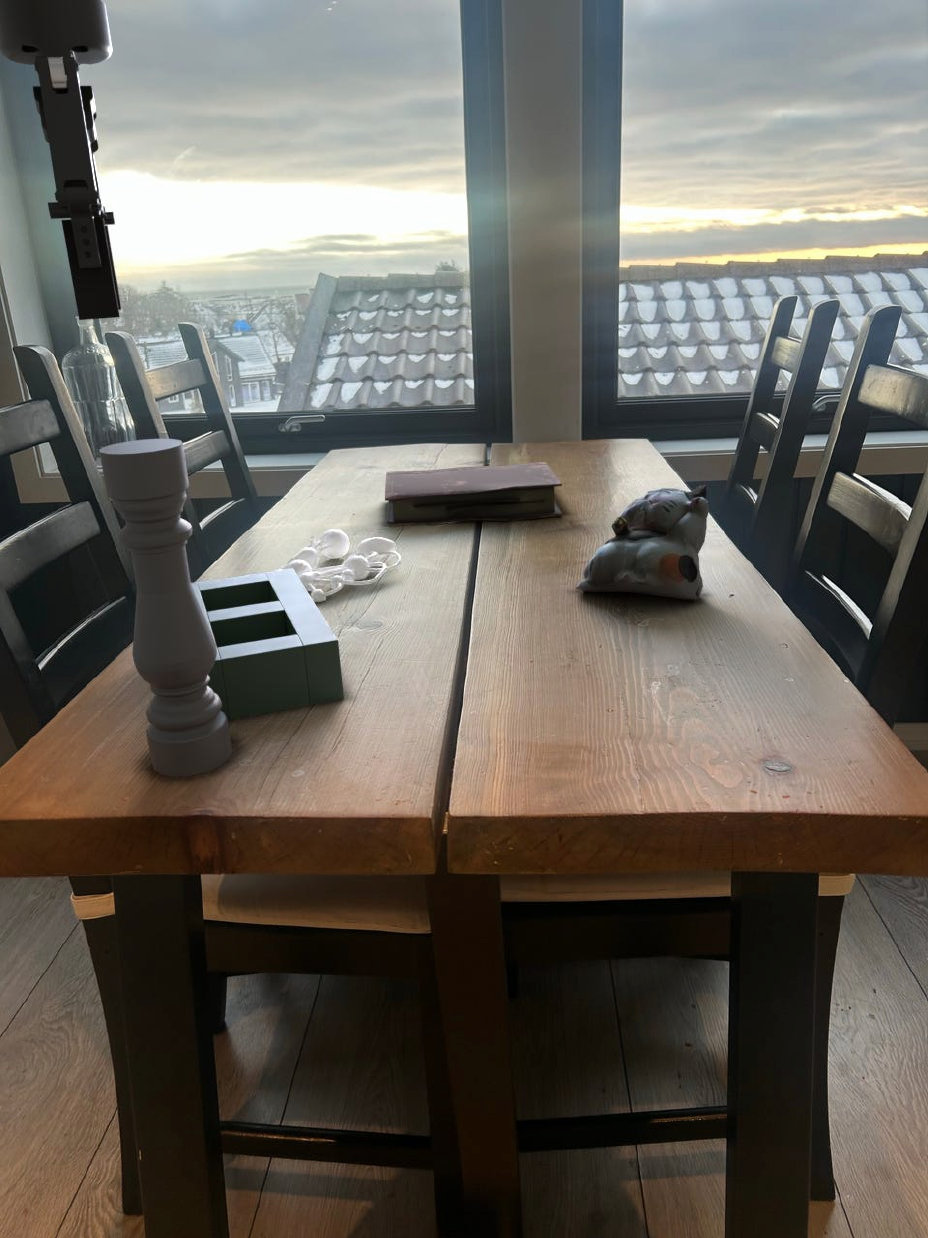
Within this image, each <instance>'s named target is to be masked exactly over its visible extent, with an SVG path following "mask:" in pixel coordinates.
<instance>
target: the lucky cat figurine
mask: <svg viewBox="0 0 928 1238" xmlns="http://www.w3.org/2000/svg"><path fill="white" fill-rule="evenodd" d="M707 493H708V492H707V486H706V484H705V485H704V484H703V485H699V486H697V487H694V488H693V489H692V490H690V491H686V490H683V489H680V488H675V487H662V488H658V489H654V490H648V491H647V492H646V494H645V495H644V496H641V497H639V498H637V499H634V500H633V501H631V502H629V504H628V505H627V506H626V507H625V508H624V510H622V512H621V513H620V515H619V516H617V517H616V518H615V520H614V521H613V523H612V524H611V529H612V531H613V533H614V535H615V536H613V537H611V538H609V539H608V540H606V541H605V542H604V545H602V546H601V547H599V548H598V549H597V550H596V551H595V552H594V555H593V556H592V557H591V558H590V559H589V561H588V562H587V564H586V565H585V567H584V570H583V580H580V581H579V582H578V583H577V585H574V588H575V589H577V590H579V591H582V592H583V593H597V592H598V593H600V592H604V593H605V592H609V593H611V592H612V593H613V592H615V593H616V592H619V593H620V592H624V593H632V594H640V595H649V596H657V597H664V598H671V599H672V598H673V599H679V600H684V601H689V602H693V603H695V602H696V601H697V600H699V598H700V596H701V593H702V590H703V587H704V584H703V577H702V575H701V570H700V556H699V554H700V551H701V549H702V547H703V546H704V543H705V541H706V534H707V528H708V525H707V524H708V523H707V522H708V516H709V512H710V511H709V510H710V509H709V501H708V500H707Z"/></svg>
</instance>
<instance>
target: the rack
mask: <svg viewBox="0 0 928 1238" xmlns="http://www.w3.org/2000/svg"><path fill="white" fill-rule="evenodd" d="M191 584H192V587H193V589H194V592H195V594H196V597H197V599H198V602H199V604H200V607H201V609H202V611H203V614H204V616H205V619H206V621H207V624H208V626H209V628H210V631H211V633H212V636H213V638H214V640H215V643H216V648H217V655H216V660H215V662H214V665H213V667H212V669H211V671H210V673H209V674H208V676H209V678H210V681H209V682H208V684H207V686H209V688H211V689H212V690H213V693H215V694H217V695H218V696H219V698H220V700H221V702H222V708H221V710H220V711H222V712H224V713H225V715H226V717H227V720H228V721H230V720H237V719H240V718H245V717H251V716H257V715H263V714H268V713H273V712H279V711H283V710H289V709H294V708H295V709H296V708H300V707H304V706H312V705H316V704H321V703H327V702H332V701H337V700H343V699H345V693H344V682H343V674H342V665H341V664H342V663H341V654H340V645H339V639H338V637H337V635H336V634H335V633H334V631H333V630H332V628H331V626H330V625H329V623H328V622H327V620H326V619H325V617H324V616H323V614H322V612H321V611H320V609H319V607H318V606H317V605H316V602H315V603H314V601H313V600H312V598H311V597H310V596H311V594H310V593H309V592H307V590H306V589H305V587H304V585H303V584H302V582H301V581H300V579H299V578H298V576H297V574H296V573H295V571H294V570H293V568H291V569H285V570H278V571H276V570H272V571H265V572H258V573H252V574H245V575H243V574H242V575H237V576H230V577H223V578H218V579H217V578H216V579H210V580H209V579H208V580H203V581H198V582H197V581H196V582H191Z"/></svg>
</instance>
